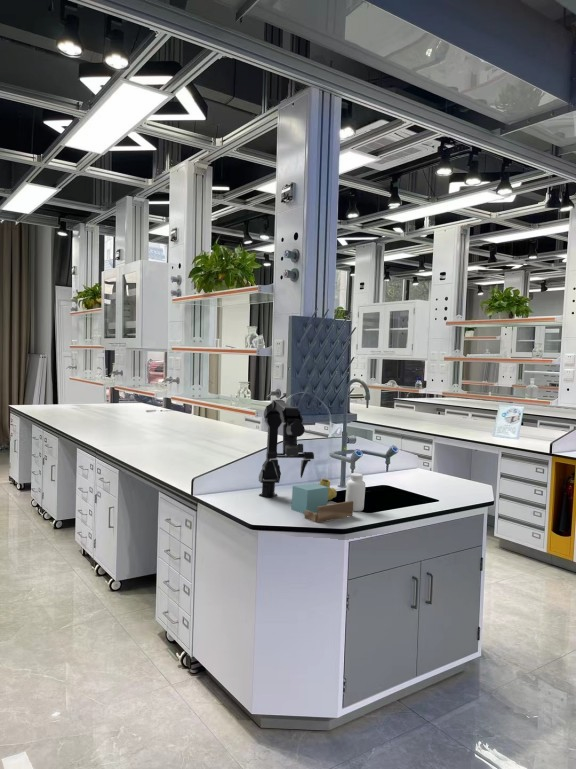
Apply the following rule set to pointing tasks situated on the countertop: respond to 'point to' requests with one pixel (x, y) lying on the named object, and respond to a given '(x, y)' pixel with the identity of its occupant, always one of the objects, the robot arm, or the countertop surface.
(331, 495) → the ball valve
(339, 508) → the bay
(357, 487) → the pill bottle
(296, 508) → the crate
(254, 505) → the countertop surface
